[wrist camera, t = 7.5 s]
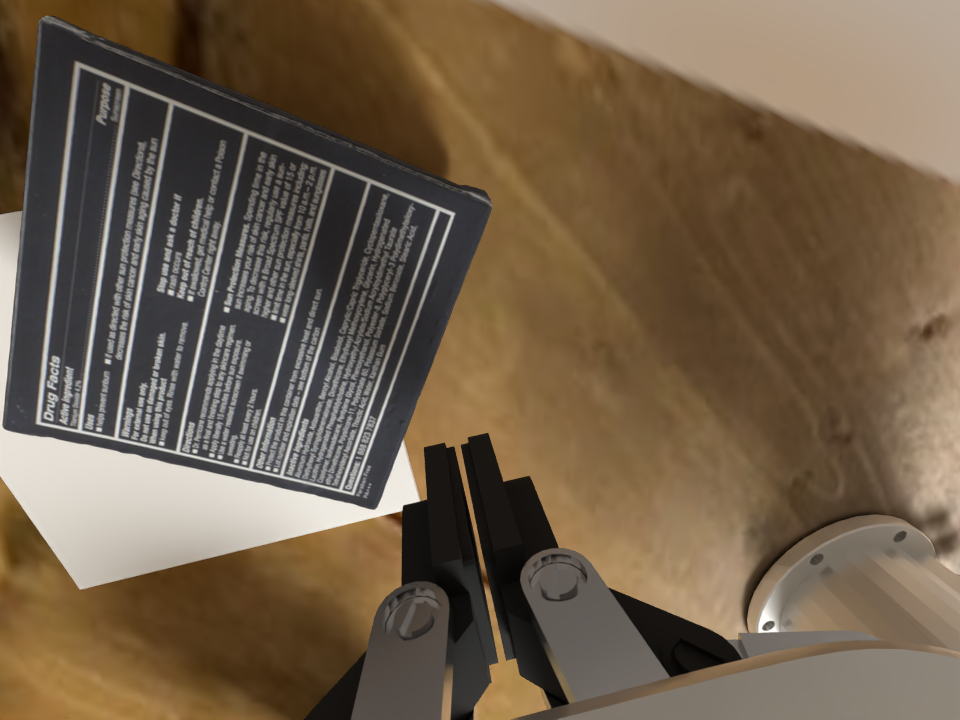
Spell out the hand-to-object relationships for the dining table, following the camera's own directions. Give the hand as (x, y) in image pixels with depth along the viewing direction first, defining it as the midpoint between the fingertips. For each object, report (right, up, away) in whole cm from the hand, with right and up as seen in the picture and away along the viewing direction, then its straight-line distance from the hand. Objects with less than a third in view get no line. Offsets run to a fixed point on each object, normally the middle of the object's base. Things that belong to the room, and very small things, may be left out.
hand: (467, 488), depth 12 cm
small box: (-1, +4, +5) cm, 6 cm away
